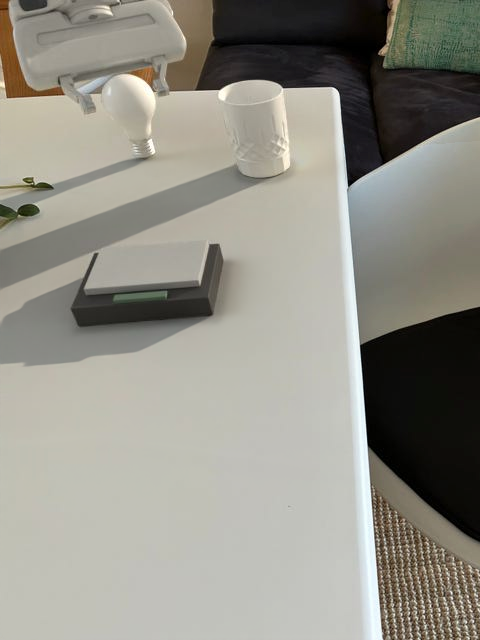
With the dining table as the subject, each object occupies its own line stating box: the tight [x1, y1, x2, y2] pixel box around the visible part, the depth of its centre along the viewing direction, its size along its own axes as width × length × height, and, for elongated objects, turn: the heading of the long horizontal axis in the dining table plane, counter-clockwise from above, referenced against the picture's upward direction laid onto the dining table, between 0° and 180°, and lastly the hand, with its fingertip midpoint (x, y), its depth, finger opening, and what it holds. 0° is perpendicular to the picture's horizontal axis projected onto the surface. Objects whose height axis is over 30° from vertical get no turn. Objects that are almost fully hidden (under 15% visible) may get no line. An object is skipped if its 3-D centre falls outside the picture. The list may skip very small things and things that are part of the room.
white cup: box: [216, 79, 291, 179], centre depth 99 cm, size 8×8×10 cm
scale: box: [70, 239, 224, 327], centre depth 80 cm, size 13×10×3 cm
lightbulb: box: [100, 73, 157, 160], centre depth 101 cm, size 6×6×11 cm
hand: (127, 102), depth 101 cm, fingers open, 8 cm apart
